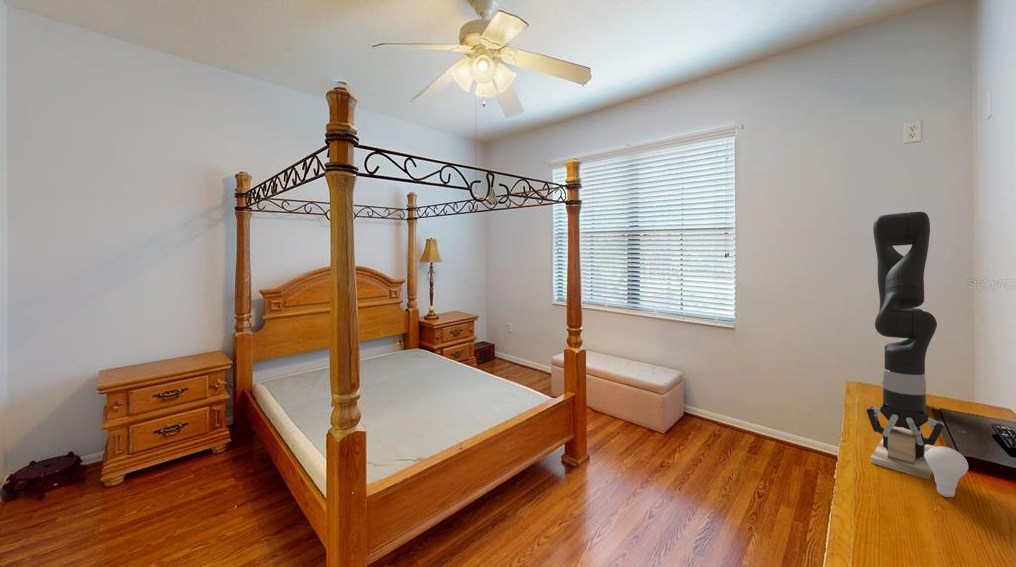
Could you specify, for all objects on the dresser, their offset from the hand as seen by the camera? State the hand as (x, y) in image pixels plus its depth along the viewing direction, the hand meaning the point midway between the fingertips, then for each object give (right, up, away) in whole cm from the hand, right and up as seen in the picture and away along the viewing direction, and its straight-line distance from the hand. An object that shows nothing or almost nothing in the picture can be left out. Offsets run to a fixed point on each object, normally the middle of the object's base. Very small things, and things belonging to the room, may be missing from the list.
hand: (903, 453), depth 96 cm
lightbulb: (-5, -4, -14) cm, 15 cm away
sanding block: (0, -1, 0) cm, 1 cm away
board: (+2, -2, +2) cm, 3 cm away
